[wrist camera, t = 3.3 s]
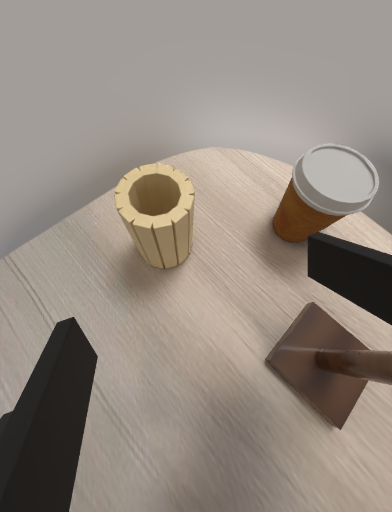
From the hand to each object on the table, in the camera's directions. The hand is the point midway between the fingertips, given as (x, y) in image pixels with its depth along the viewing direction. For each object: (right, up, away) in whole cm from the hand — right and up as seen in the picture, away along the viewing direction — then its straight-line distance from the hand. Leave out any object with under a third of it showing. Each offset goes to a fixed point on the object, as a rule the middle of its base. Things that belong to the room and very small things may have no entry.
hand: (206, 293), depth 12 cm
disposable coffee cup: (+15, +7, +24) cm, 29 cm away
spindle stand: (+15, -11, +16) cm, 25 cm away
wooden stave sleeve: (-5, +4, +21) cm, 22 cm away
